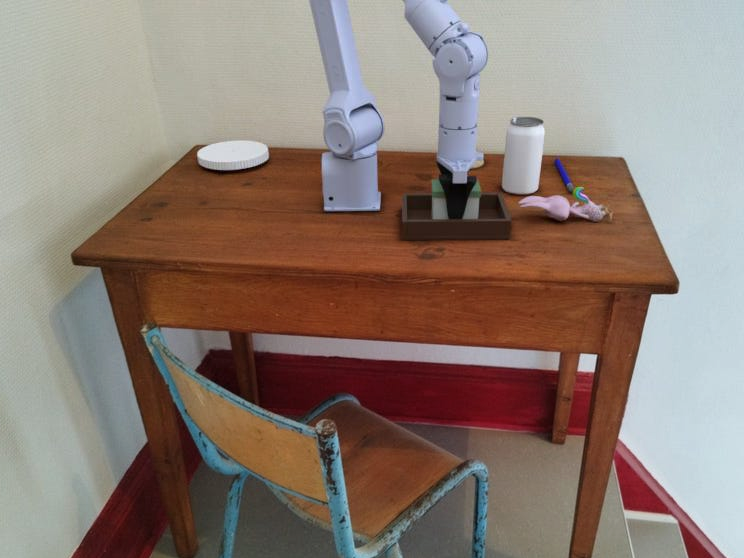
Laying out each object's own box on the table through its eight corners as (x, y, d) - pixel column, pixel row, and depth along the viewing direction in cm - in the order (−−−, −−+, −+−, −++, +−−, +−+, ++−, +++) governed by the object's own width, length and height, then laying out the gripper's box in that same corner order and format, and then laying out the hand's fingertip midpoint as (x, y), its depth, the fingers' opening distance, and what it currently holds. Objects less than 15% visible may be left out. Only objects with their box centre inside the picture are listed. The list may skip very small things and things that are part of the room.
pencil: (573, 193, 116) (574, 187, 116) (568, 193, 117) (569, 187, 116) (558, 161, 130) (558, 156, 130) (553, 161, 130) (554, 156, 130)
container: (431, 228, 104) (432, 191, 101) (430, 214, 108) (431, 179, 105) (478, 227, 104) (481, 191, 100) (475, 214, 108) (477, 178, 105)
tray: (402, 240, 102) (402, 221, 100) (401, 211, 111) (401, 193, 110) (509, 239, 101) (511, 220, 100) (500, 210, 111) (501, 192, 109)
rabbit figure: (599, 219, 111) (512, 207, 109) (611, 184, 107) (522, 172, 106) (610, 234, 106) (520, 222, 104) (623, 199, 102) (530, 186, 101)
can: (537, 196, 116) (546, 127, 109) (500, 194, 117) (506, 125, 110) (538, 184, 121) (546, 116, 114) (502, 182, 122) (508, 115, 115)
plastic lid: (245, 148, 141) (243, 136, 140) (283, 163, 133) (281, 150, 131) (186, 163, 134) (184, 151, 132) (222, 180, 125) (220, 167, 124)
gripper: (490, 138, 91) (484, 230, 99) (480, 111, 103) (474, 194, 111) (439, 139, 92) (437, 230, 99) (435, 112, 103) (433, 195, 111)
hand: (454, 211), depth 105 cm, fingers closed on container, 5 cm apart
